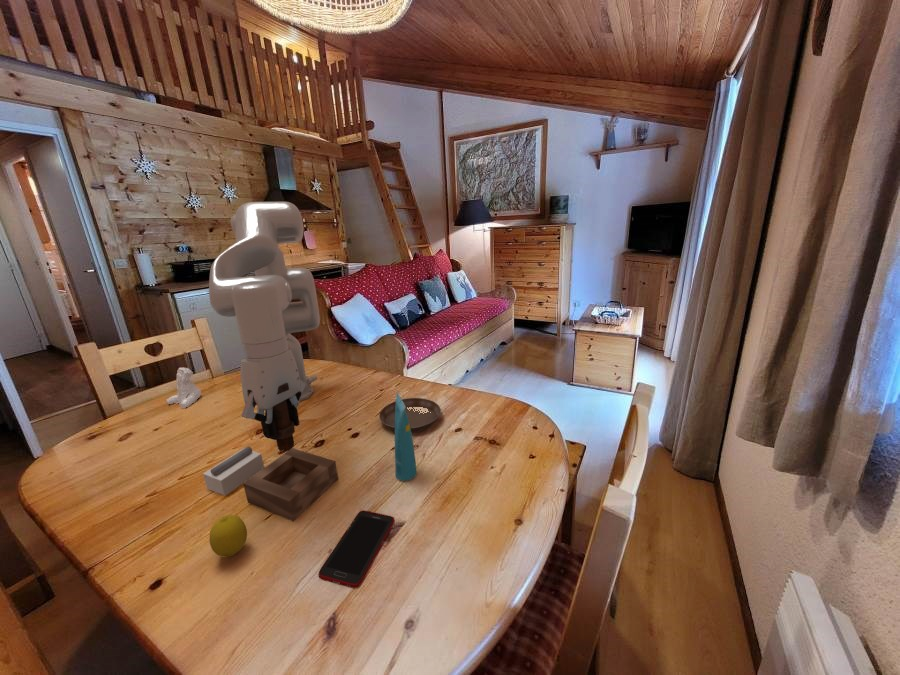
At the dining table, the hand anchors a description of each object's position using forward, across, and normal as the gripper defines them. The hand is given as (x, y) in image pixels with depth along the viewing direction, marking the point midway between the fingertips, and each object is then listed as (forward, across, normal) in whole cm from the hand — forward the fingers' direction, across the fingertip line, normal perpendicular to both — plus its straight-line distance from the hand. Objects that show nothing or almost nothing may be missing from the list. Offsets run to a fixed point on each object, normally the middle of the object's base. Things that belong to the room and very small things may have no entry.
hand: (282, 430), depth 74 cm
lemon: (+16, +16, +2) cm, 22 cm away
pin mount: (+15, +2, -16) cm, 22 cm away
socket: (+15, 0, 0) cm, 15 cm away
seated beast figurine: (+15, -18, -67) cm, 71 cm away
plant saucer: (+16, -35, +9) cm, 40 cm away
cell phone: (+16, +6, +22) cm, 28 cm away
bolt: (+5, 0, 0) cm, 5 cm away
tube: (+16, -14, +20) cm, 29 cm away
